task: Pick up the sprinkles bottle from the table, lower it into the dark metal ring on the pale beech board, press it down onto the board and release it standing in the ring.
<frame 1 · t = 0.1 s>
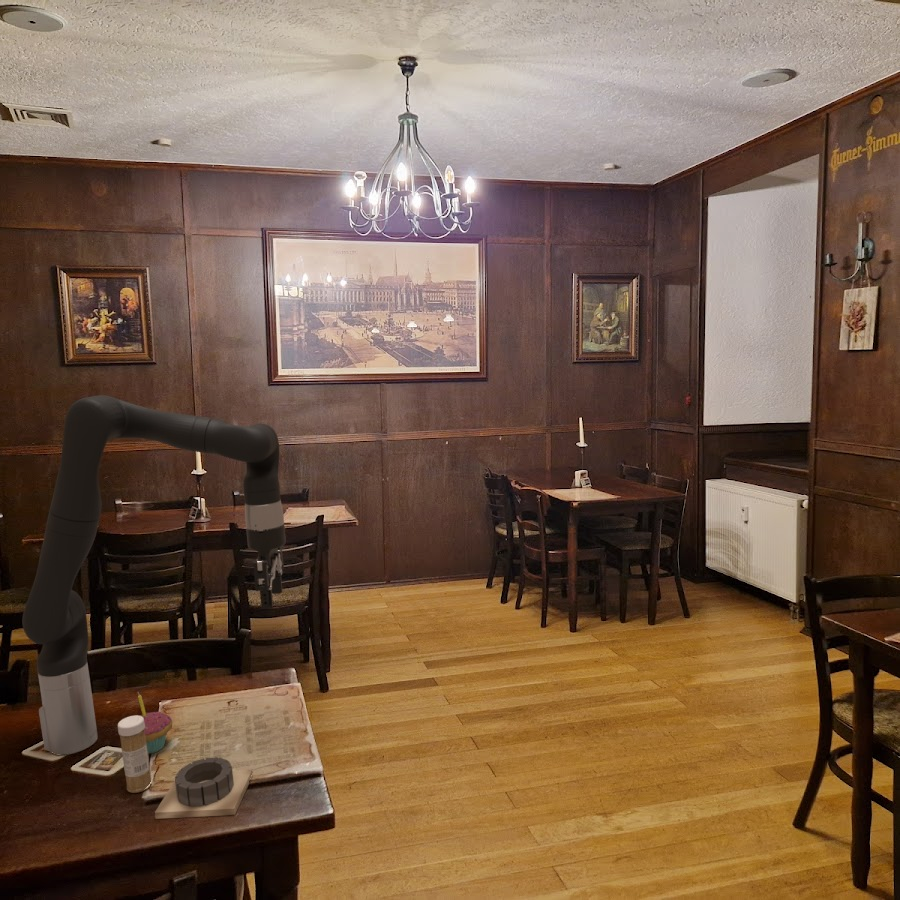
hand: (272, 600, 154), 29 cm above the table, tool pointing down, fingers open, 8 cm apart
ring holder: (206, 796, 138), on the table
sprinkles bottle: (139, 787, 142), on the table
cupcake: (153, 748, 156), on the table
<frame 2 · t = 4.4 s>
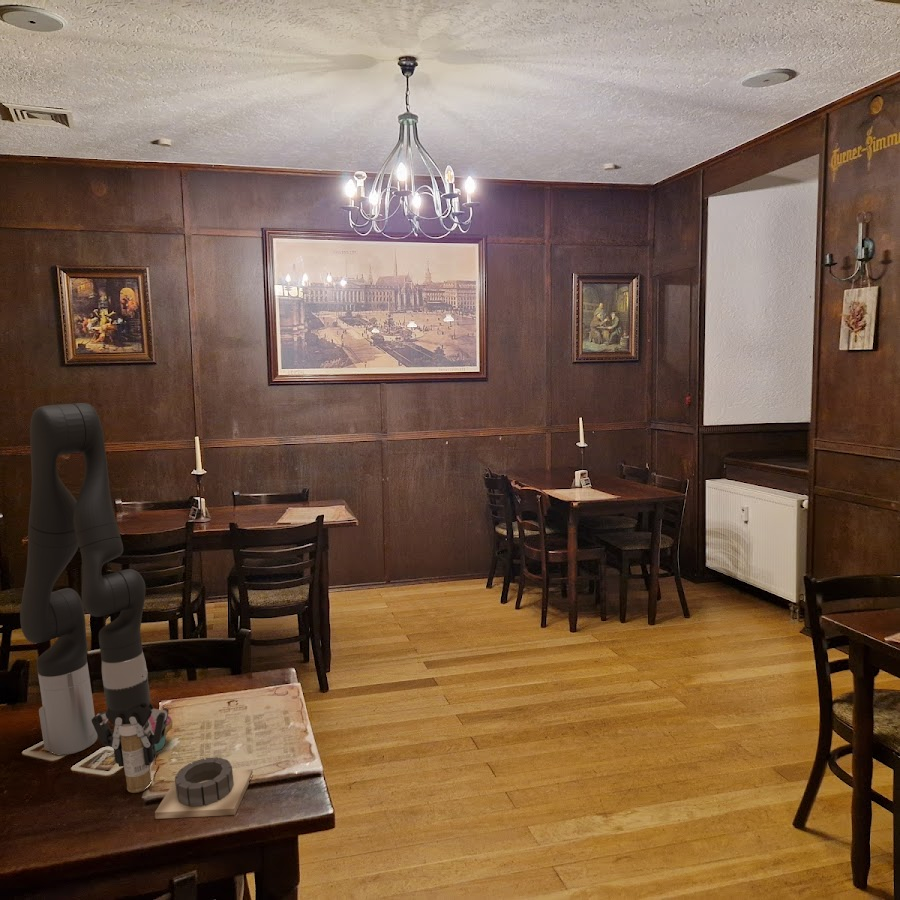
hand: (136, 763, 141), 5 cm above the table, tool pointing down, fingers closed on sprinkles bottle, 4 cm apart
sprinkles bottle: (139, 787, 142), on the table, touching gripper
everything else where it was.
when the fingers open (6 cm above the table, at t = 9.0 s): sprinkles bottle stays where it is, resting on ring holder.
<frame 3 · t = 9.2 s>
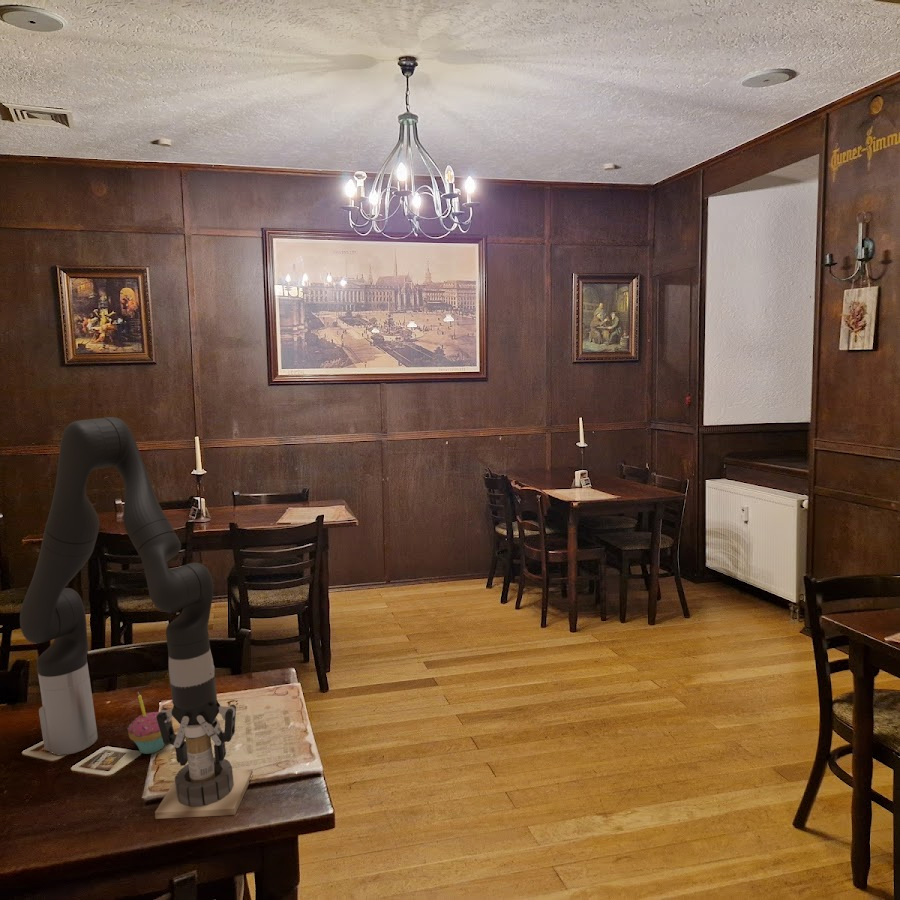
hand: (202, 762, 137), 7 cm above the table, tool pointing down, fingers open, 6 cm apart
sprinkles bottle: (204, 791, 138), point 1 cm above the table, touching ring holder
everything else where it was.
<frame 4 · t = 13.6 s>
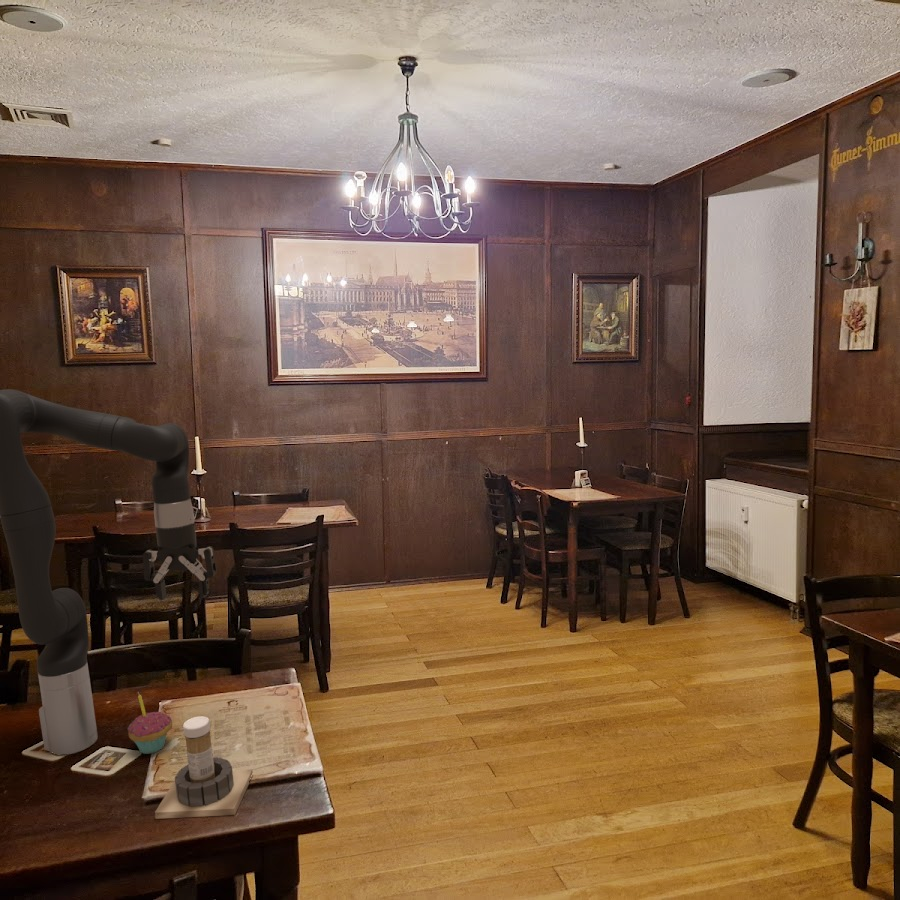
hand: (183, 597, 156), 30 cm above the table, tool pointing down, fingers open, 8 cm apart
nothing on the table moved.
at the end: sprinkles bottle 0.3 cm off-centre on the ring holder, point 1.0 cm above the ring holder's base; sprinkles bottle tilted 0°; the gripper is holding nothing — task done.
